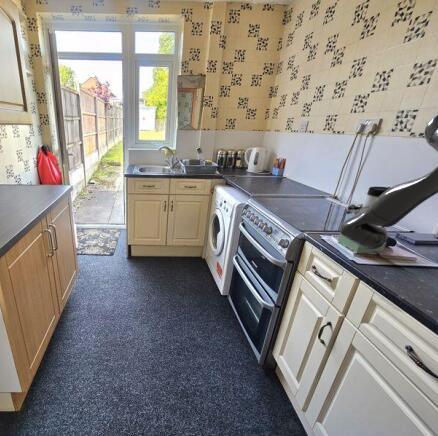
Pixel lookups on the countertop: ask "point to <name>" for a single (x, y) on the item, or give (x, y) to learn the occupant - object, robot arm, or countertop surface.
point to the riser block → (357, 246)
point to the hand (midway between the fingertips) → (372, 208)
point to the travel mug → (374, 194)
